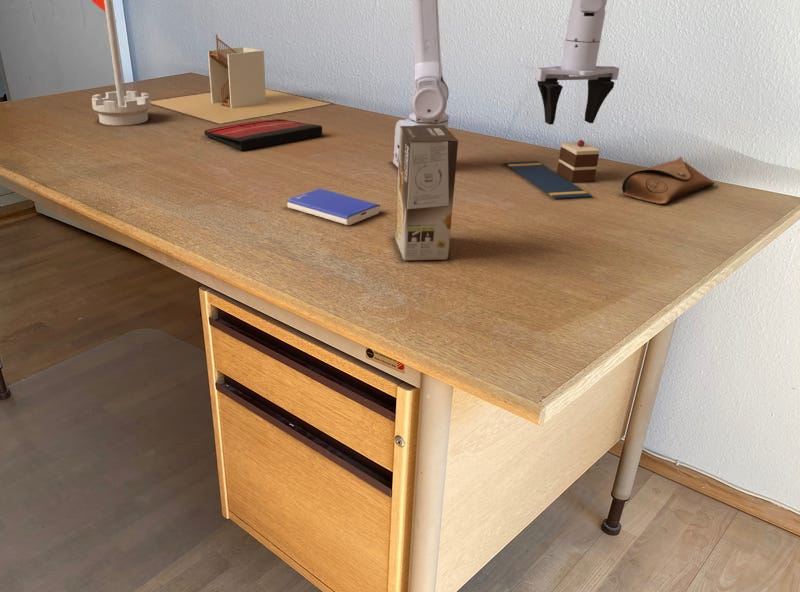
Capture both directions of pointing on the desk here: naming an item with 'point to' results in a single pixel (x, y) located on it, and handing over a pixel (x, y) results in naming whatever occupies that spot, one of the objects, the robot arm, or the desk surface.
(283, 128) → the binder
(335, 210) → the hard drive
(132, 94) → the flag stand
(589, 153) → the cake slice
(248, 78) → the staircase
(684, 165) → the sunglasses case
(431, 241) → the coffee box
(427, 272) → the desk surface
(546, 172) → the cloth
